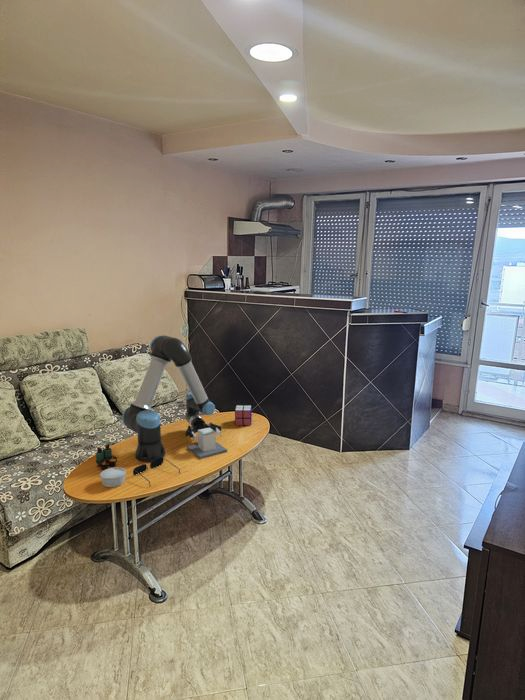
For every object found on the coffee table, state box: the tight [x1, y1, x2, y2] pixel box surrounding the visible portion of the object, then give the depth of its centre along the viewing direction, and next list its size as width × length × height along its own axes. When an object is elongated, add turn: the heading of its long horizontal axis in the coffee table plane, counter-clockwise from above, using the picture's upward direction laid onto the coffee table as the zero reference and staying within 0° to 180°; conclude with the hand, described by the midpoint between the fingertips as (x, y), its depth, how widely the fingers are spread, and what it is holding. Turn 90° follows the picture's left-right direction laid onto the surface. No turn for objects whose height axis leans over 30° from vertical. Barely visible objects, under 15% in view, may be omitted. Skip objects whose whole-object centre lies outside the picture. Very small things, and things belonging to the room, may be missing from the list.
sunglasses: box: [132, 457, 181, 487], centre depth 208 cm, size 17×15×5 cm
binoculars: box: [95, 443, 118, 471], centre depth 215 cm, size 9×11×10 cm
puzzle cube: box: [234, 405, 253, 426], centre depth 275 cm, size 10×10×10 cm
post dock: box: [186, 440, 228, 460], centre depth 235 cm, size 16×16×8 cm
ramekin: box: [99, 466, 127, 488], centre depth 200 cm, size 11×11×5 cm
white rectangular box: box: [197, 427, 216, 452], centre depth 235 cm, size 7×7×10 cm
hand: (207, 436), depth 232 cm, fingers open, 13 cm apart
